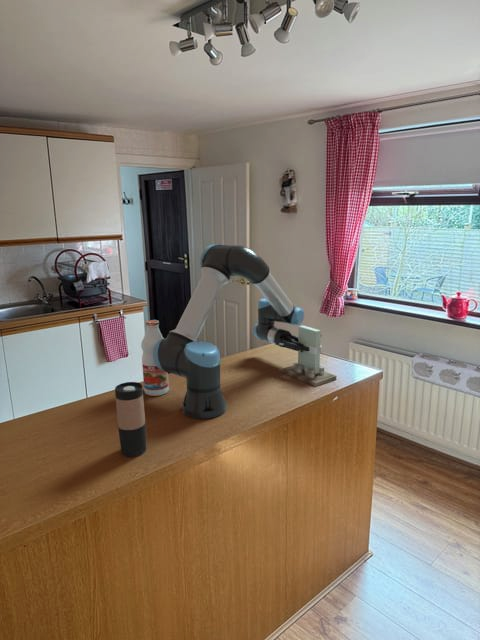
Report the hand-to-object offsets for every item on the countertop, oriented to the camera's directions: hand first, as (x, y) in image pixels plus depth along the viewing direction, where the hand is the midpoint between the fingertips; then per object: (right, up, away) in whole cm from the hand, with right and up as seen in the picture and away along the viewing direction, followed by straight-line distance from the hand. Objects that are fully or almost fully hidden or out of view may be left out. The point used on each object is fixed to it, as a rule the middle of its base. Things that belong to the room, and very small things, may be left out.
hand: (318, 350), depth 174 cm
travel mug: (-63, -26, -47) cm, 83 cm away
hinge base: (-3, -11, +7) cm, 14 cm away
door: (-3, -9, +7) cm, 11 cm away
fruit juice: (-64, -16, -6) cm, 66 cm away
